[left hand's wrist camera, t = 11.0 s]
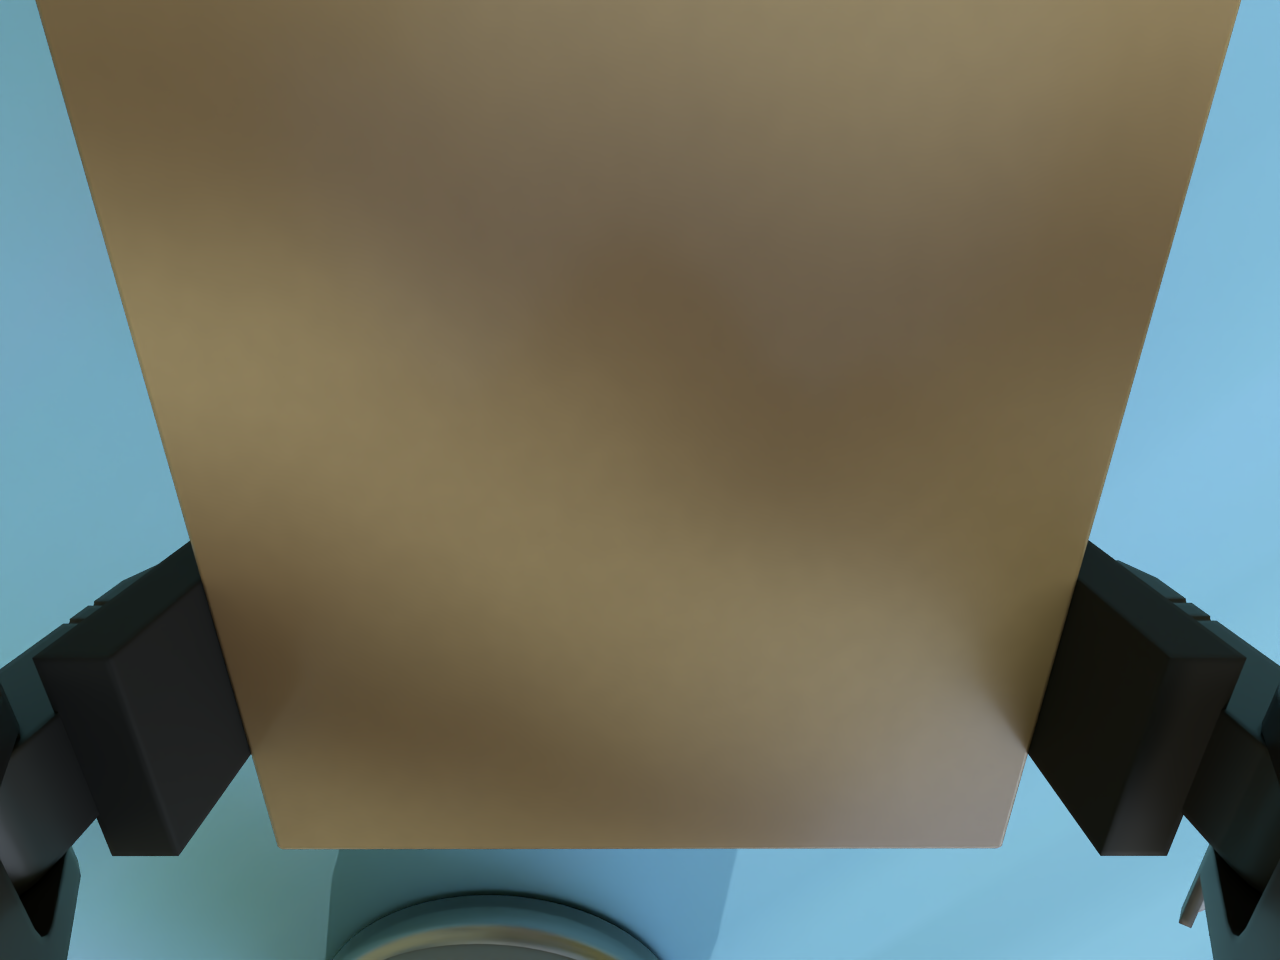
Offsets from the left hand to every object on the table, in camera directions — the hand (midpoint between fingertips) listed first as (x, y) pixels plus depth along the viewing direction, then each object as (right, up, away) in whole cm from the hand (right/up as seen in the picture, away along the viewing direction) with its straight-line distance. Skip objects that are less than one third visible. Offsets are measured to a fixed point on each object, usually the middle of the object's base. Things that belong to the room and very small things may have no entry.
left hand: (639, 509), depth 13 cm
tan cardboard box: (0, +8, +4) cm, 8 cm away
